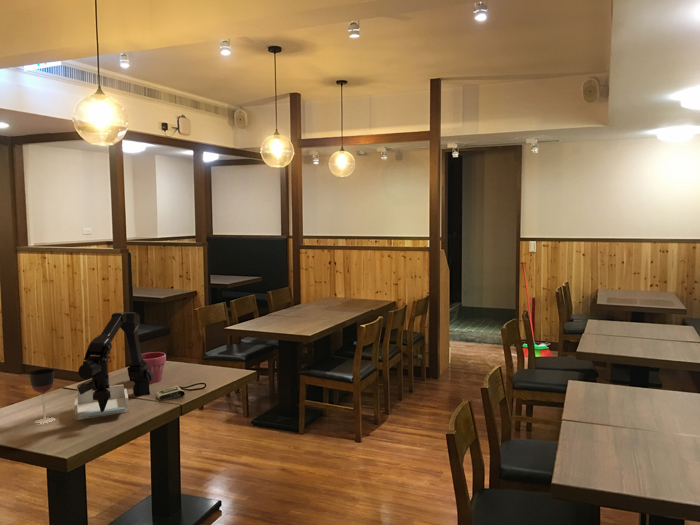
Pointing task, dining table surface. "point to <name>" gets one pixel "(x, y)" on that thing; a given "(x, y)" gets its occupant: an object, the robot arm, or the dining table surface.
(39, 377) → the wineglass
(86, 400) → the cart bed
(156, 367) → the plant pot
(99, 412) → the tailgate
